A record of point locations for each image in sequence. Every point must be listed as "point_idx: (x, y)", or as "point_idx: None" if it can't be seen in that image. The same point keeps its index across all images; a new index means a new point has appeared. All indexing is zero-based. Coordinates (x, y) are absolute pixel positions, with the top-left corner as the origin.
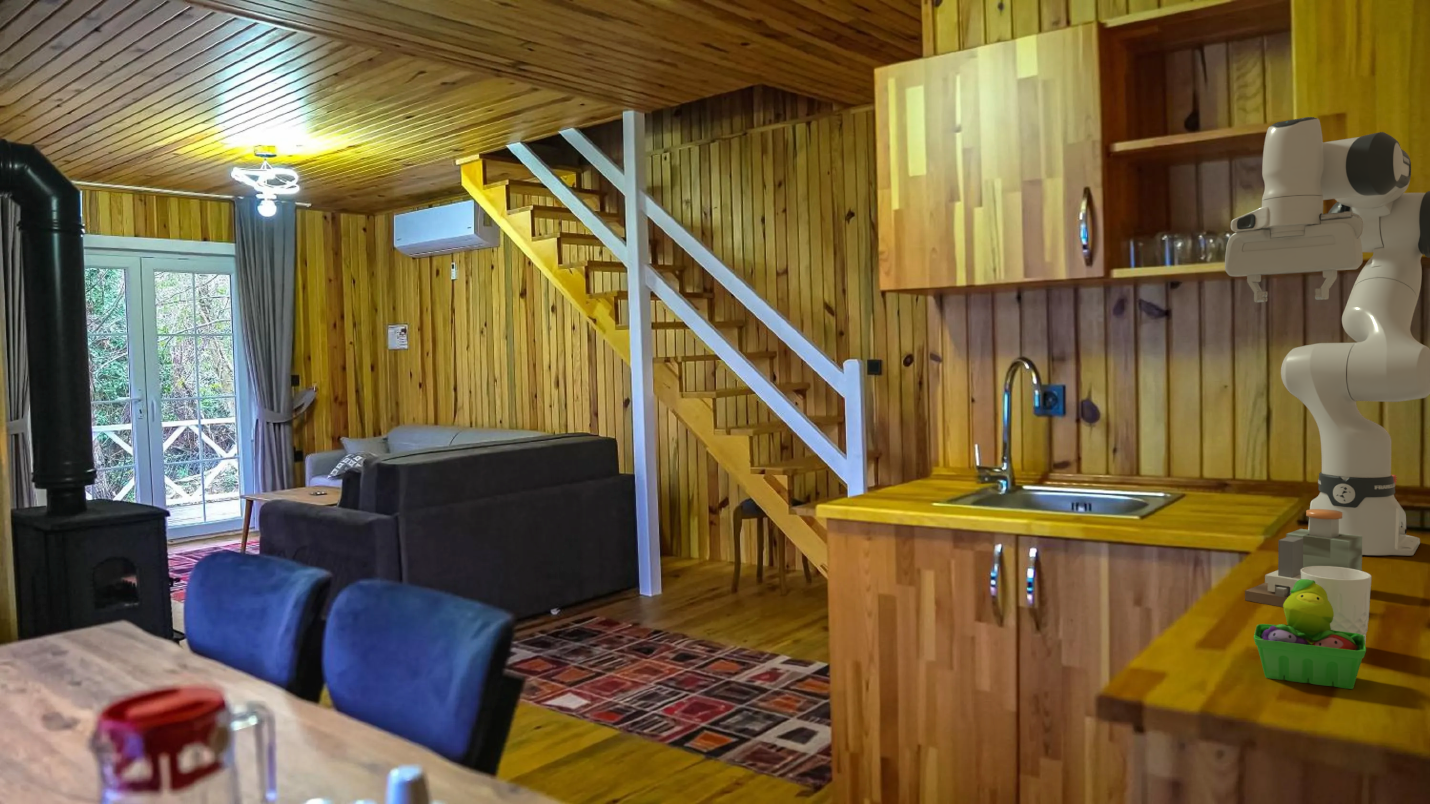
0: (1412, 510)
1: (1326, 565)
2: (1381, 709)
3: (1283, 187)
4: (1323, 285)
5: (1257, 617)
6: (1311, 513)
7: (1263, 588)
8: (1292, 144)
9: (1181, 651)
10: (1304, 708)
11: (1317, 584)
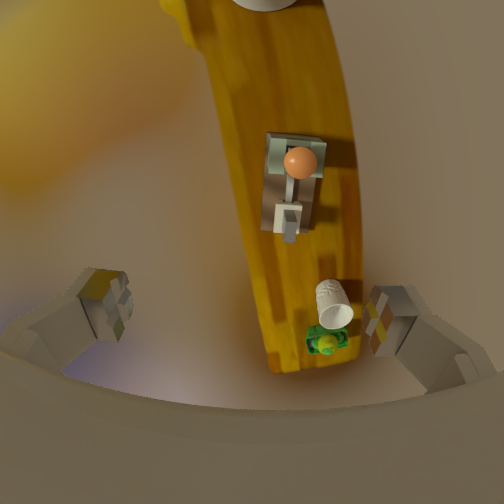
0: None
1: None
2: (349, 341)
3: None
4: (409, 365)
5: (281, 261)
6: (292, 176)
7: (268, 215)
8: None
9: (272, 330)
10: None
11: (333, 351)
